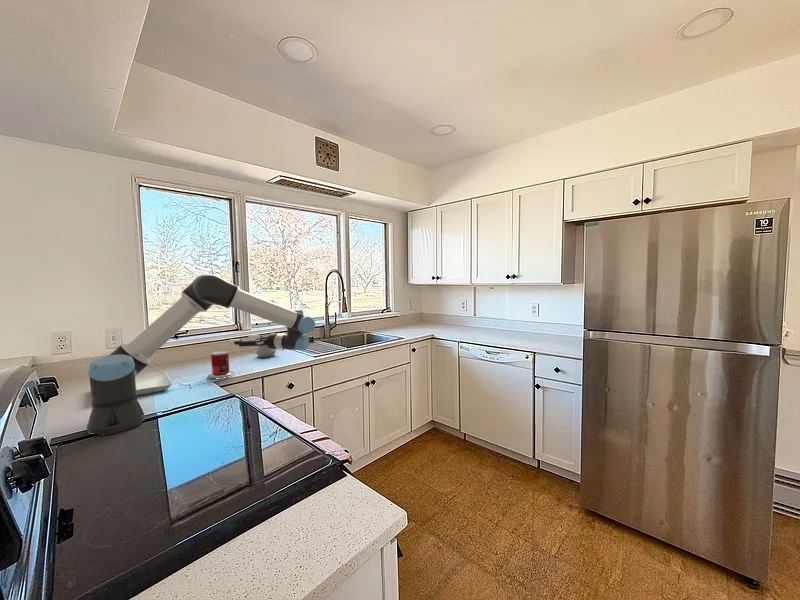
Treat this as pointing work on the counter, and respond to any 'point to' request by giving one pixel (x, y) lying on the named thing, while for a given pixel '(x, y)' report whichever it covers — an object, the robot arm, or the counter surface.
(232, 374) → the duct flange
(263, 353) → the coffee pot
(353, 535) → the counter surface
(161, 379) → the square plate
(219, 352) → the canned food
